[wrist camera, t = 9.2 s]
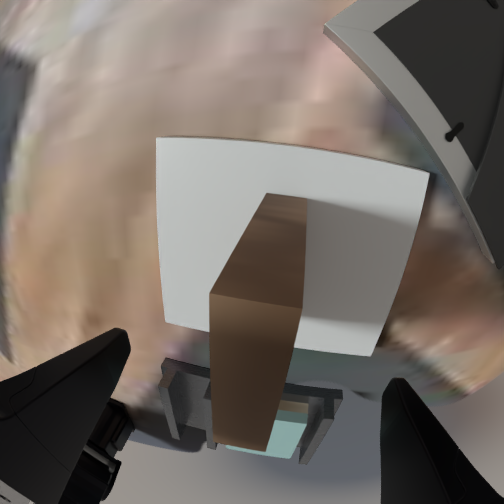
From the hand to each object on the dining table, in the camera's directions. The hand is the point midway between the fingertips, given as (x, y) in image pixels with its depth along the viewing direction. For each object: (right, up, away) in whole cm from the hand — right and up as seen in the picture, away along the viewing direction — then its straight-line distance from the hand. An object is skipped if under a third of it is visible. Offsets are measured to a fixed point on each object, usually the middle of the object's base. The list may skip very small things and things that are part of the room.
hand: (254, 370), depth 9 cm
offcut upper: (+1, -11, +13) cm, 17 cm away
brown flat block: (+1, +3, +7) cm, 8 cm away
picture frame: (+16, +15, 0) cm, 22 cm away
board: (+2, +4, +8) cm, 9 cm away
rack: (-1, -10, +15) cm, 18 cm away
